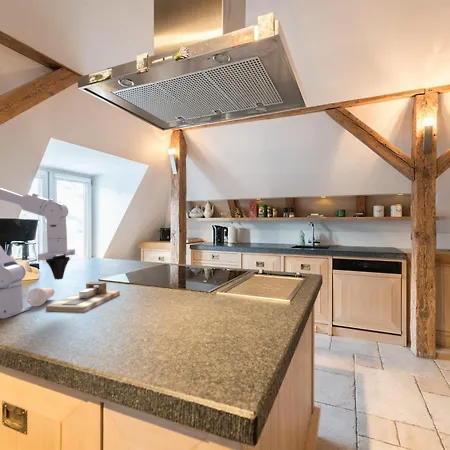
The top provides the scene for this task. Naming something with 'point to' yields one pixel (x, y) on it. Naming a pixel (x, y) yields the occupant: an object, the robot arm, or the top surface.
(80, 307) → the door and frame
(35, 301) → the smoothie
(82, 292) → the brushed metal block
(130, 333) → the top surface
